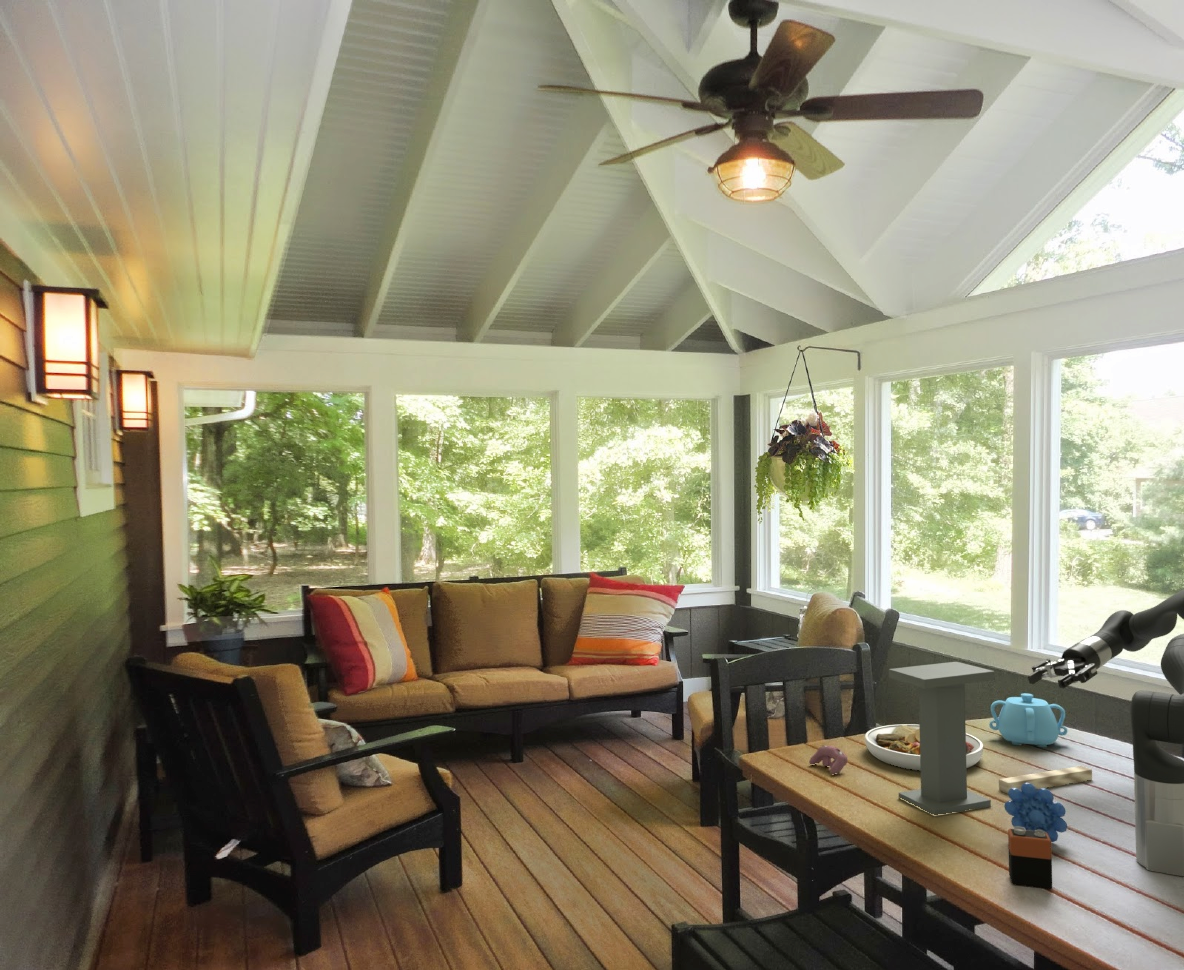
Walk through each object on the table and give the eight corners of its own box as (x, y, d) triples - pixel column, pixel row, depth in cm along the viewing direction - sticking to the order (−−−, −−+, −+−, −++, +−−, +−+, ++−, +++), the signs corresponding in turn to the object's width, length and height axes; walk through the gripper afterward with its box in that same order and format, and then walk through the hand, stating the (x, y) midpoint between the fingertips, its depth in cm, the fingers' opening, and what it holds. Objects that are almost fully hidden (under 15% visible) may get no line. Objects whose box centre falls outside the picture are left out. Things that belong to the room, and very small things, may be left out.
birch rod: (1081, 777, 215) (1081, 765, 215) (1092, 781, 213) (1091, 769, 213) (999, 791, 207) (998, 779, 207) (1008, 795, 204) (1008, 783, 204)
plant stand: (959, 788, 209) (956, 661, 209) (997, 805, 198) (994, 671, 198) (891, 800, 202) (888, 669, 202) (927, 818, 191) (924, 679, 191)
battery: (1008, 875, 163) (1007, 822, 163) (1048, 880, 161) (1047, 826, 161) (1011, 885, 159) (1010, 831, 159) (1052, 890, 156) (1051, 836, 156)
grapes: (1006, 845, 176) (1005, 787, 176) (1004, 832, 182) (1002, 776, 182) (1070, 853, 172) (1069, 793, 172) (1066, 840, 178) (1064, 782, 178)
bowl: (842, 752, 240) (841, 724, 240) (918, 735, 254) (917, 709, 254) (928, 784, 213) (927, 752, 213) (1008, 763, 227) (1007, 734, 227)
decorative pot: (1030, 731, 255) (1029, 685, 255) (1074, 746, 239) (1072, 697, 239) (984, 736, 250) (983, 690, 250) (1026, 752, 235) (1024, 703, 235)
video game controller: (843, 780, 221) (853, 754, 222) (831, 775, 219) (840, 748, 220) (819, 769, 230) (827, 744, 231) (806, 763, 228) (815, 738, 229)
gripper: (1118, 673, 210) (1075, 701, 203) (1066, 667, 223) (1024, 692, 217) (1108, 644, 209) (1065, 671, 203) (1057, 640, 222) (1015, 665, 216)
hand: (1044, 682), depth 210 cm, fingers open, 8 cm apart
